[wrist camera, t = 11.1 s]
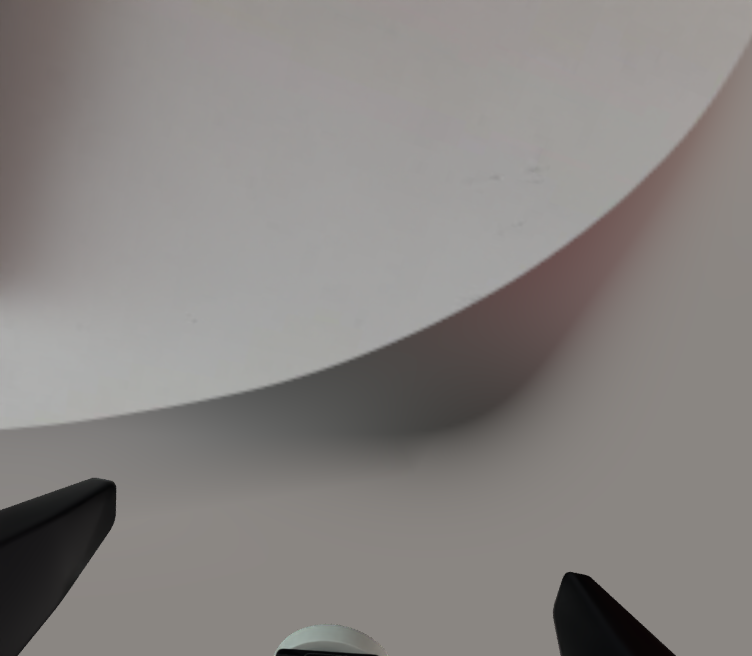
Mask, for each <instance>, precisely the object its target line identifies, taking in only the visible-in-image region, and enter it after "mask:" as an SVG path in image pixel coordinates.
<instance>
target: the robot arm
mask: <svg viewBox="0 0 752 656" xmlns="http://www.w3.org/2000/svg"><path fill="white" fill-rule="evenodd" d="M115 516H116V485H115V483H114V482H113V481H110V480H105V479H100V478H91V479H88V480H85V481H82V482H79V483H76V484H74V485H71V486H68V487H65V488H62V489H59V490H57V491H54V492H51V493H48V494H45V495H42V496H40V497H36V498H34V499H31V500H28V501H25V502H22V503H19V504H17V505H14V506H11V507H8V508H5V509H2V510H0V656H18V655H19V653H20V652H21V651H22V650H23V648H24V647H25V646H26V645H27V644H28V642H29V641H30V640H31V639H32V637H33V636H34V635H35V634H36V633H37V631H38V630H39V629H40V627H41V626H42V625H43V624H44V623H45V622H46V620H47V619H48V618H49V617H50V615H51V614H52V613H53V611H54V610H55V609H56V608H57V606H58V605H59V604H60V602H61V601H62V600H63V598H64V597H65V595H66V594H67V593H68V591H69V590H70V588H71V587H72V585H73V584H74V582H75V581H76V580H77V578H78V577H79V575H80V574H81V572H82V571H83V569H84V568H85V566H86V565H87V563H88V562H89V560H90V559H91V557H92V556H93V555H94V553H95V552H96V550H97V549H98V547H99V546H100V544H101V543H102V541H103V540H104V538H105V537H106V536H107V534H108V533H109V531H110V530H111V528H112V526H113V524H114V521H115ZM553 618H554V624H555V629H556V634H557V639H558V644H559V649H560V655H561V656H676V655H674V654H673V653H672V652H671V651H670V650H669V649H668V648H667V647H666V646H665V645H664V644H662V642H660V641H659V640H658V639H657V638H656V637H655V636H654V635H653V634H652V633H651V632H650V631H648V630H647V629H646V628H645V627H644V626H643V625H642V624H641V623H640V622H639V621H638V620H636V619H635V618H634V617H633V616H632V615H631V614H630V613H629V612H628V611H627V610H626V609H624V608H623V607H622V606H621V605H620V604H619V603H618V602H617V601H616V600H615V599H614V598H612V597H611V596H610V595H609V594H608V593H607V592H606V591H605V590H604V589H603V588H602V587H601V586H600V585H598V584H597V583H596V582H595V581H594V580H593V579H592V578H591V577H589V576H587V575H583V574H578V573H573V572H568V573H566V574H565V575H564V577H563V579H562V582H561V585H560V588H559V591H558V594H557V597H556V600H555V603H554V608H553ZM276 656H378V655H374V654H359V653H344V652H329V651H314V650H299V649H280V650H278V651H277V653H276Z"/></svg>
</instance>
